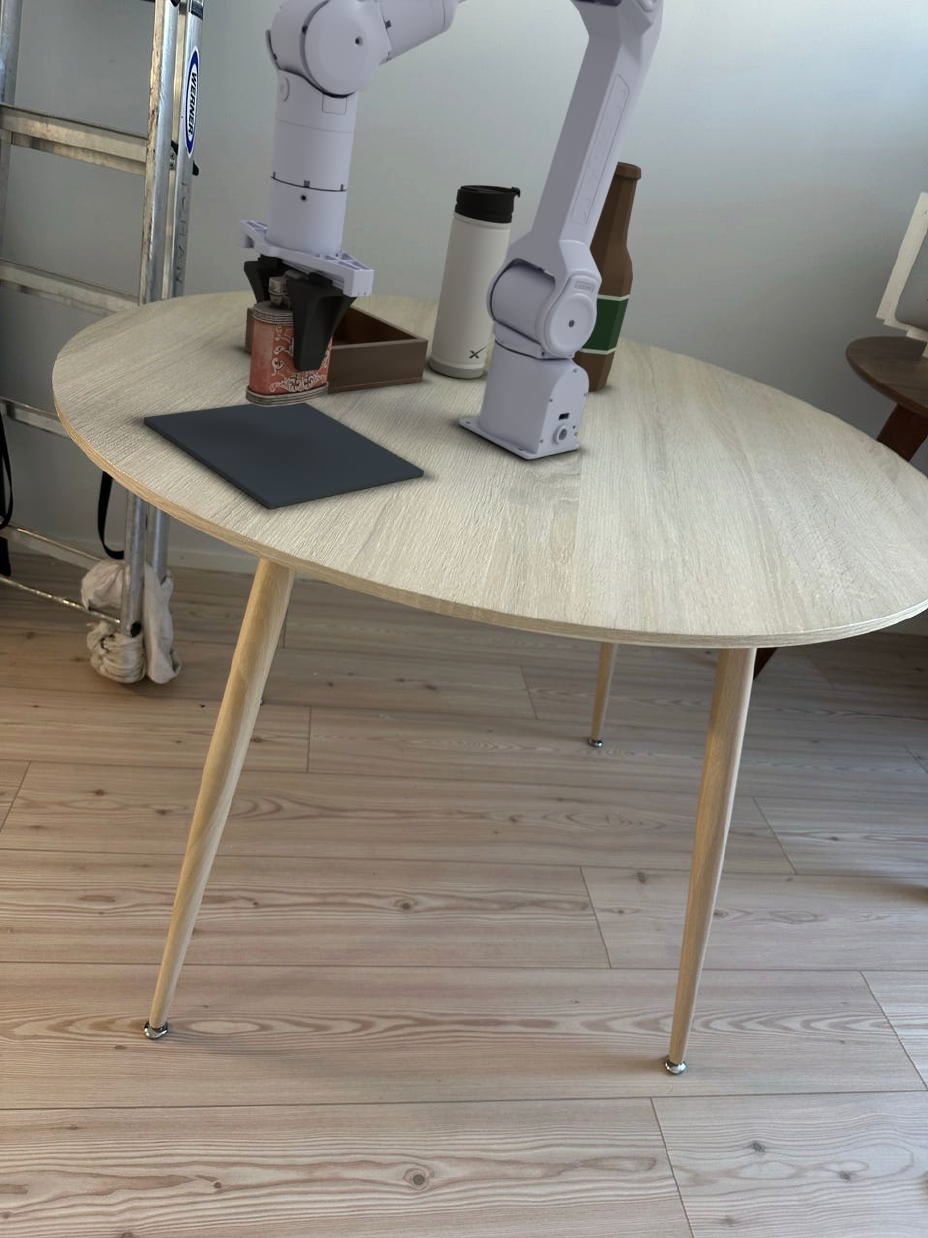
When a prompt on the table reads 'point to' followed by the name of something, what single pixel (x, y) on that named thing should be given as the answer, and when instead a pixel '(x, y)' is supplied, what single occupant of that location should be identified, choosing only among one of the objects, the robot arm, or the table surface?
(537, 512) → the table surface
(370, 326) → the brown wooden tray
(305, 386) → the lighter
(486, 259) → the travel mug
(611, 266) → the beer bottle
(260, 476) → the mat
